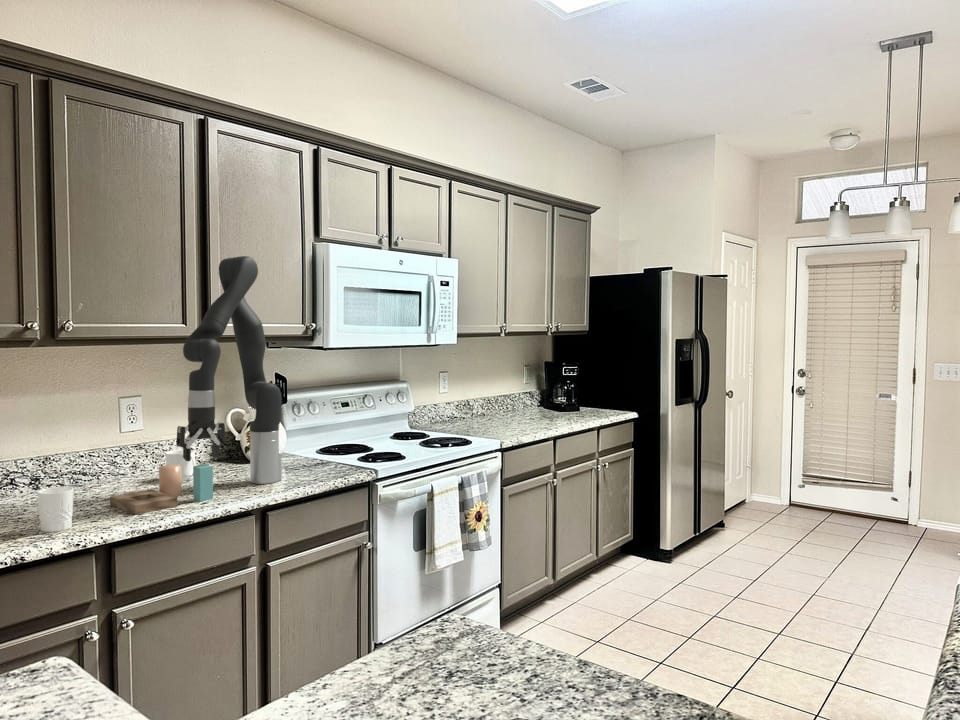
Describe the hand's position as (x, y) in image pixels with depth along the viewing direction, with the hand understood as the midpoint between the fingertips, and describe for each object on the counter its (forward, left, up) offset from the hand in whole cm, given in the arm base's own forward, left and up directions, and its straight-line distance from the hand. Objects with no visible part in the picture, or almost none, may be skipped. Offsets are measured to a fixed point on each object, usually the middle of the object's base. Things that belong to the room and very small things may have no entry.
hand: (201, 459), depth 207 cm
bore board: (+15, -6, -12) cm, 20 cm away
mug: (-10, -31, -12) cm, 35 cm away
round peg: (+4, -12, -12) cm, 17 cm away
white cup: (+40, 0, -12) cm, 42 cm away
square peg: (0, 0, -12) cm, 12 cm away
